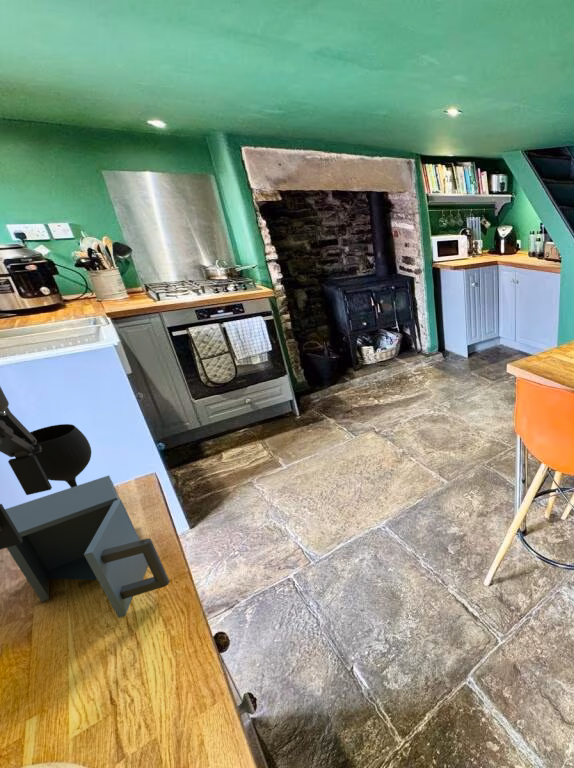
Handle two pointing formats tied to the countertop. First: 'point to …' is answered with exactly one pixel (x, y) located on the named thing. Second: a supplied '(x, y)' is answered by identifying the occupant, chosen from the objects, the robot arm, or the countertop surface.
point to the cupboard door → (123, 560)
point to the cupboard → (60, 532)
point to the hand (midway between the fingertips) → (25, 516)
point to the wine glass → (62, 452)
